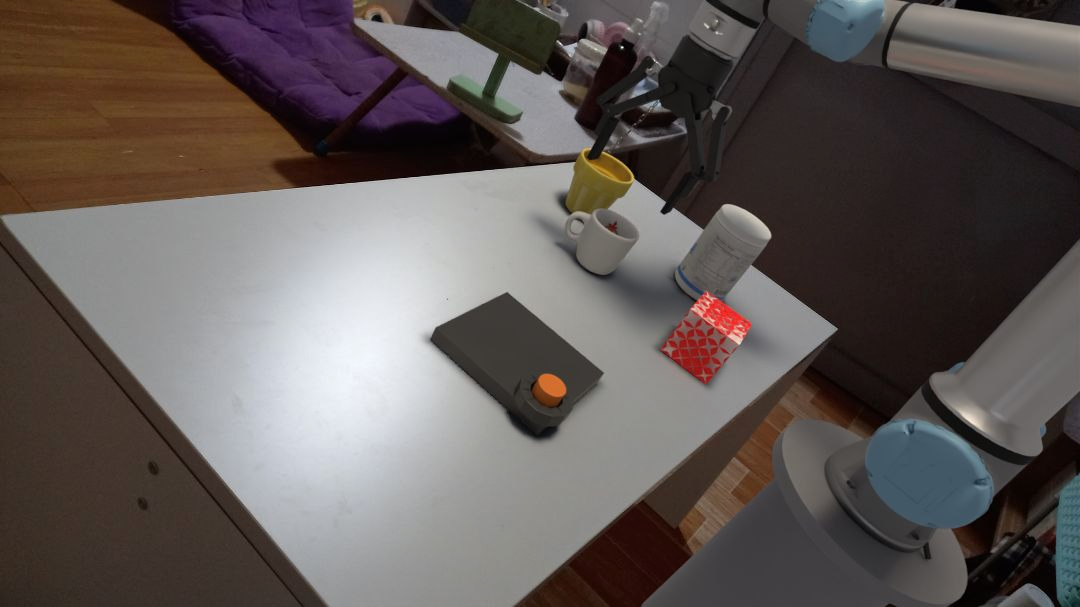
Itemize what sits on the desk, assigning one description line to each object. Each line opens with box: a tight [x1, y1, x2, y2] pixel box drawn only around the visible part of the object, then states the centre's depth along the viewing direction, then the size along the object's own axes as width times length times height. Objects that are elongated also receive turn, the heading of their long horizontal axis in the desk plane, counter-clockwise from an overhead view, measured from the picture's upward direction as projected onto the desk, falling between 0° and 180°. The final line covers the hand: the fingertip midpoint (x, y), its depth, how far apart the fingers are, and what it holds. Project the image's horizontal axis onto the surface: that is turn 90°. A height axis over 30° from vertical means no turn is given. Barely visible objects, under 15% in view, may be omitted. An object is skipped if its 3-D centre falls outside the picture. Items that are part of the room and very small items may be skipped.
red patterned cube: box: [659, 291, 753, 385], centre depth 91 cm, size 8×8×8 cm
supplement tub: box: [674, 203, 772, 302], centre depth 107 cm, size 10×10×15 cm
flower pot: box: [565, 147, 635, 214], centre depth 112 cm, size 10×10×10 cm
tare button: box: [532, 374, 566, 408], centre depth 67 cm, size 3×3×2 cm
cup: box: [564, 208, 640, 276], centre depth 99 cm, size 11×8×8 cm
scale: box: [429, 291, 605, 436], centre depth 74 cm, size 17×15×4 cm
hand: (628, 184), depth 94 cm, fingers open, 13 cm apart
